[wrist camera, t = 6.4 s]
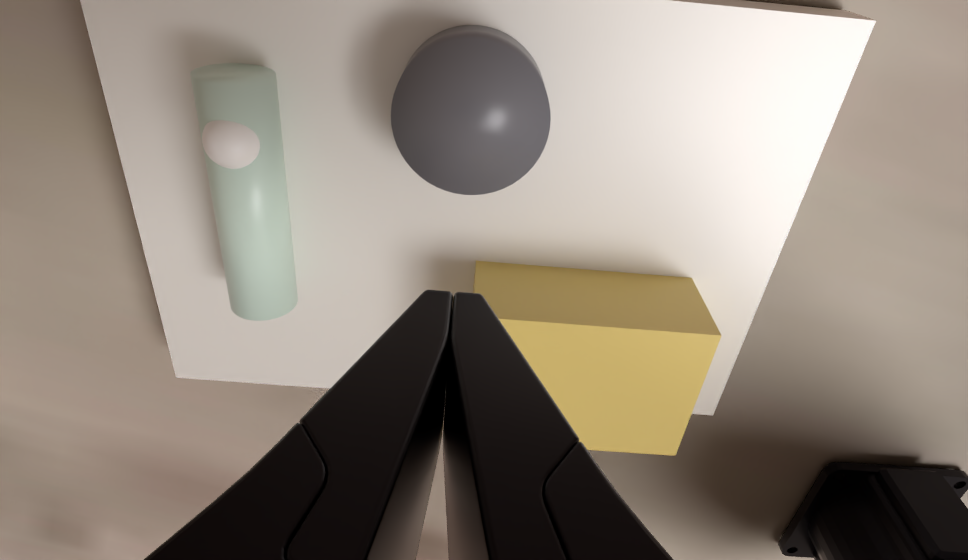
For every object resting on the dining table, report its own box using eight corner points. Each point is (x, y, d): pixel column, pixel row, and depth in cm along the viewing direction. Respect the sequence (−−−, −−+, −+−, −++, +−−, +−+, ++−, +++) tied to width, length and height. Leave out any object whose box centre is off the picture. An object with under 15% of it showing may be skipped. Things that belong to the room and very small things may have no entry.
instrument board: (701, 387, 24) (740, 480, 20) (193, 351, 23) (135, 440, 20) (846, 10, 16) (952, 47, 13) (98, -64, 16) (-25, -49, 12)
